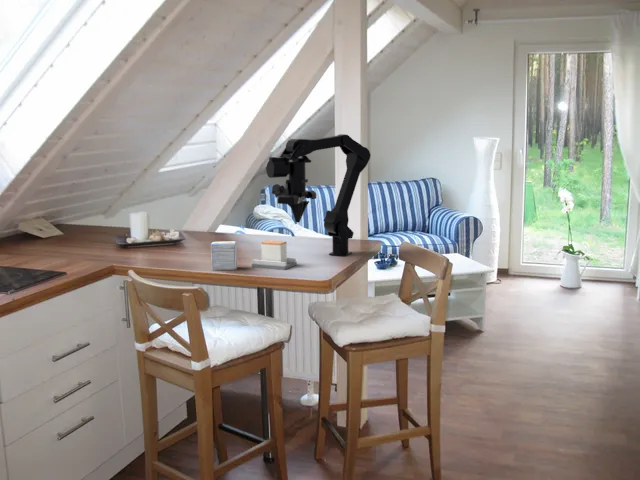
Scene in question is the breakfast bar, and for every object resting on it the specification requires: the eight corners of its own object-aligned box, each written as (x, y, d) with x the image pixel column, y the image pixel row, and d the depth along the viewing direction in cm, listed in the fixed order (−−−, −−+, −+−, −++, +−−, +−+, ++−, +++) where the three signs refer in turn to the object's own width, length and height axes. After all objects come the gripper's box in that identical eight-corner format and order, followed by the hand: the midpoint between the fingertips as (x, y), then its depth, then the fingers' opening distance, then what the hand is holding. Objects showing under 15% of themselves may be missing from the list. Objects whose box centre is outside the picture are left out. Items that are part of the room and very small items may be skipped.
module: (268, 260, 228) (267, 240, 227) (286, 262, 225) (286, 241, 224) (261, 263, 224) (261, 242, 223) (280, 264, 221) (280, 243, 220)
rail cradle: (264, 261, 231) (264, 255, 231) (296, 264, 226) (296, 257, 226) (251, 266, 223) (251, 260, 223) (284, 269, 218) (284, 263, 218)
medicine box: (237, 267, 223) (236, 241, 222) (236, 270, 219) (235, 243, 217) (213, 267, 223) (212, 241, 221) (211, 270, 219) (210, 243, 217)
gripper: (288, 173, 241) (288, 217, 244) (262, 178, 224) (263, 224, 227) (316, 174, 237) (317, 219, 239) (293, 178, 220) (293, 226, 222)
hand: (297, 222), depth 232 cm, fingers closed
